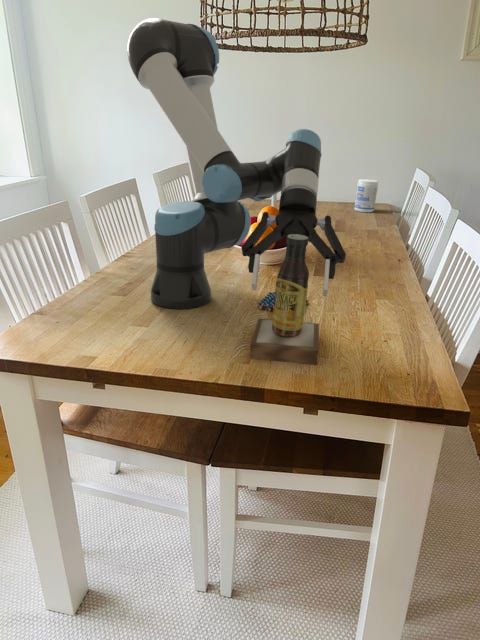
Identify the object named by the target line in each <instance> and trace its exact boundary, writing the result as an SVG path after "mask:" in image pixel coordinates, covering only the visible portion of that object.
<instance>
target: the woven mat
mask: <svg viewBox="0 0 480 640" xmlns="http://www.w3.org/2000/svg"><path fill="white" fill-rule="evenodd" d="M274 298H275V291H272V292H271V291H270V292H268V294H266V296H264V297H263V298H262V300H260V302H258V303H257V304H258V306H257V308H258V310H263V309H264V311H268V312H271V311H273V308H274ZM309 301H310V300H308V297H306V305H305V307H306V306H307V304H308V303H309Z"/></svg>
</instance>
